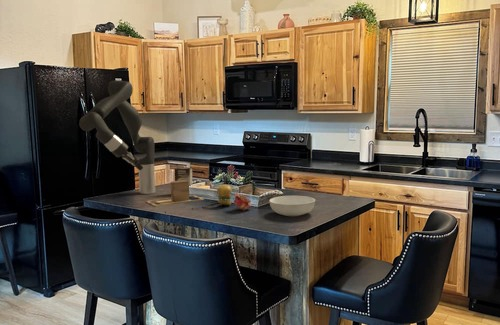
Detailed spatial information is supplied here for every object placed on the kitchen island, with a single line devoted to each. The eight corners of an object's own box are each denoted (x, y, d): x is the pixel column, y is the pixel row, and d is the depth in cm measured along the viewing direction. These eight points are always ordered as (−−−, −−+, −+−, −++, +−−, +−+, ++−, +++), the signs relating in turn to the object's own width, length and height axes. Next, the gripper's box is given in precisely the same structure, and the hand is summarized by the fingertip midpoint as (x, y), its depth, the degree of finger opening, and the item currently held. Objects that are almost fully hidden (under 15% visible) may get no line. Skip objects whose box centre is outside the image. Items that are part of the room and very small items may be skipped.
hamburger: (234, 204, 231) (233, 181, 230) (229, 207, 224) (229, 183, 223) (220, 204, 233) (219, 181, 232) (215, 207, 226) (214, 183, 225)
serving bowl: (281, 207, 223) (281, 194, 222) (321, 211, 212) (321, 197, 212) (261, 216, 205) (261, 201, 204) (304, 221, 195) (303, 205, 194)
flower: (233, 209, 212) (243, 195, 213) (225, 202, 220) (235, 188, 220) (247, 218, 218) (257, 204, 218) (239, 210, 225) (248, 197, 225)
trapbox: (146, 204, 235) (145, 200, 235) (193, 198, 249) (193, 195, 249) (155, 209, 223) (155, 205, 223) (204, 202, 237) (204, 199, 237)
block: (171, 200, 237) (170, 181, 236) (185, 198, 241) (184, 180, 240) (174, 202, 233) (174, 182, 232) (189, 200, 237) (188, 181, 236)
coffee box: (174, 196, 255) (173, 168, 253) (177, 194, 262) (176, 167, 260) (190, 196, 254) (189, 168, 252) (193, 194, 261) (192, 167, 259)
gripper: (125, 140, 213) (151, 164, 221) (117, 139, 224) (141, 162, 232) (114, 152, 211) (141, 176, 219) (106, 150, 222) (132, 173, 230)
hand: (141, 169), depth 225 cm, fingers closed
